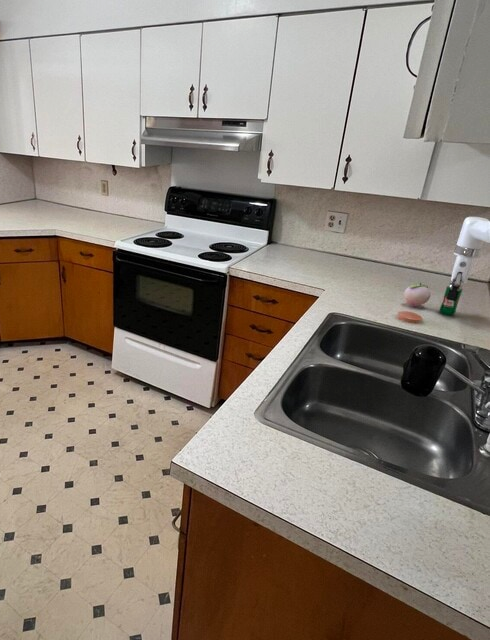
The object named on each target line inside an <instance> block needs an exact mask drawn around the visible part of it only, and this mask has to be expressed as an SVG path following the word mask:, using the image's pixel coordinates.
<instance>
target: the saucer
mask: <svg viewBox="0 0 490 640" xmlns="http://www.w3.org/2000/svg"><path fill="white" fill-rule="evenodd" d="M396 317H397V319H398V320H400V321H402V322H406V323H409V324H420V323H422V320H423V317H422V316H421V315H420V314H418V313H415V312H412V311H406V310H401V311H398V312H397V315H396Z"/></svg>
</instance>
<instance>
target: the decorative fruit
mask: <svg viewBox="0 0 490 640" xmlns="http://www.w3.org/2000/svg"><path fill="white" fill-rule="evenodd" d="M431 293H432V292H431V290H430V289H429V286H428V285H427V284H426V285H425V284H422V282H419V284H412V285H410V286H407V288H406V289H405V291H404V293H403V295H404V298H405V300H406V302H407V303H408V304H409V305H411V306H412V307H416V306H421V305H424V304H426V303H428V302H429V300H430V298H431Z"/></svg>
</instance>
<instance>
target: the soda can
mask: <svg viewBox="0 0 490 640" xmlns="http://www.w3.org/2000/svg"><path fill="white" fill-rule="evenodd" d="M454 284H455V283H454ZM451 285H452V282H449V283H448V284H447V285H446V288H445V291H444V295H443V297H442V301H441V304H440V307H439V310H438V312H439V313H440V314H441V315H442V316H446V317H453V316H454V315H455V313H456V311H457V308H458V305H459V302H460V299H461V296H462V293H463V285H462V284H461V286H460V289H459V294H458V297H457V300H456V301H452V300H447V299H446V298H447V295H448V292H449V289H450V288H451Z"/></svg>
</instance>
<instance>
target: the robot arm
mask: <svg viewBox="0 0 490 640" xmlns="http://www.w3.org/2000/svg"><path fill="white" fill-rule="evenodd" d="M484 242H485V243H487V244H490V220H489V219H488V218H485V217H480V216H467V217H465V219H464V221H463V223H462V226H461V229H460V232H459V235H458V238H457V242H456V245H455V249H454V251H453V255H455V256H456V258H455V261H454V264H453V266H452V267H453V268H452V272H451V278H450V281H451V283H452V285H451V288H450V289H449V292H448V295H447V298H446V299H447V300H452V301H456V300H457V297H458V294H459V289H460V286H461V285H462V284H463V285H466V284H467V283H468V280H469V276H470V273H471V270H472V267H473V264H474V260H475V259H478V258H479V256H480V254H481V253H480V252H481V250H482V247H483V244H484ZM454 283H455V284H454Z"/></svg>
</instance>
